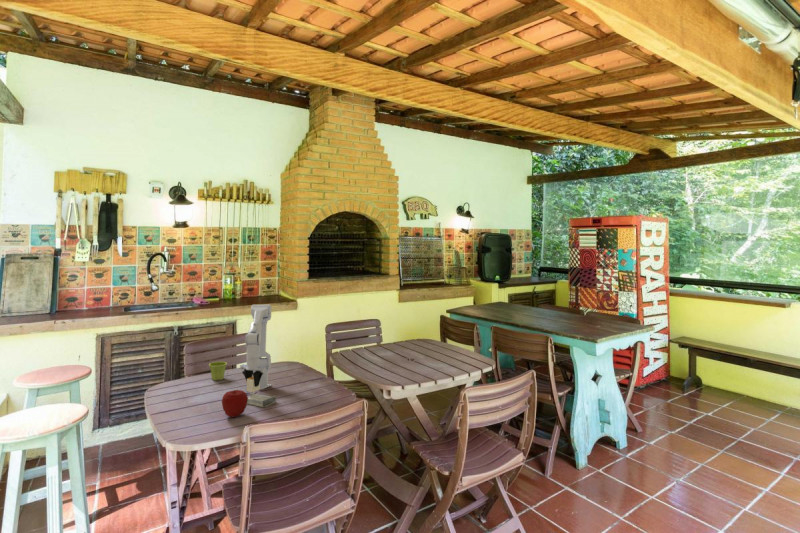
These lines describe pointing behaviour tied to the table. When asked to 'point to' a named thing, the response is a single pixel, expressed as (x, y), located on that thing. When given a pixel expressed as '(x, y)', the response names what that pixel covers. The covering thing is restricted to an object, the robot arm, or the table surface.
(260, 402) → the grey piece
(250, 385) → the block
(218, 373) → the plant pot
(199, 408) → the table surface
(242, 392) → the apple
